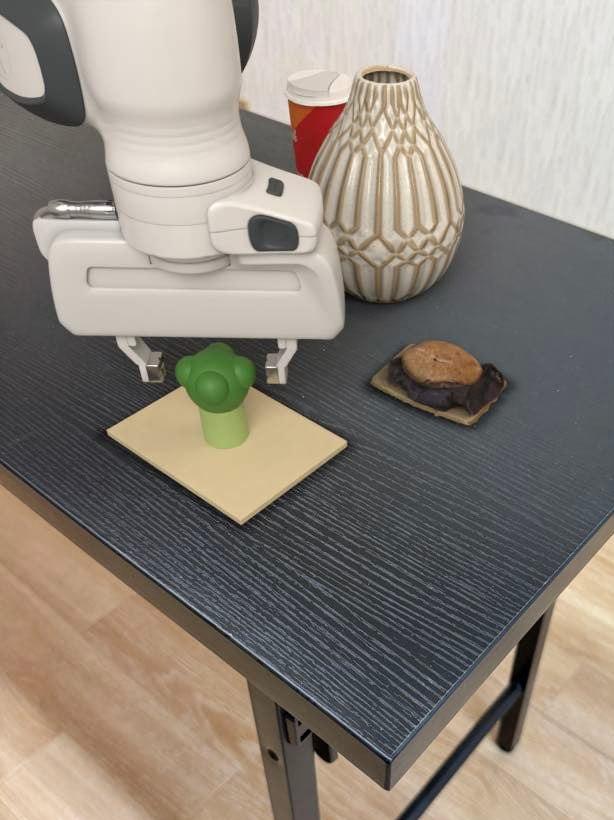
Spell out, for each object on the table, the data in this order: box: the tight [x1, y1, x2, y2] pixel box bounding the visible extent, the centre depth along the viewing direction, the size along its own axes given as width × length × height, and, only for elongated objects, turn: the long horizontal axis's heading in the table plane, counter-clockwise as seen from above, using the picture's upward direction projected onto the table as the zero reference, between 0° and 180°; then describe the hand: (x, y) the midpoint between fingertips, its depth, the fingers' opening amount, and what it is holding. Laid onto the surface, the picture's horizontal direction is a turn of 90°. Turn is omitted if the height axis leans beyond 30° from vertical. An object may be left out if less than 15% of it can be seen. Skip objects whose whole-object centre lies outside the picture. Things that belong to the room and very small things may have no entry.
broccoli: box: [174, 341, 257, 449], centre depth 64 cm, size 6×6×8 cm
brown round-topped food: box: [369, 339, 508, 427], centre depth 72 cm, size 11×8×4 cm
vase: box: [308, 64, 466, 304], centre depth 78 cm, size 16×16×20 cm
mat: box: [106, 385, 348, 526], centre depth 67 cm, size 16×12×1 cm
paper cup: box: [283, 68, 353, 179], centre depth 91 cm, size 8×8×14 cm
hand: (216, 378), depth 62 cm, fingers open, 8 cm apart
